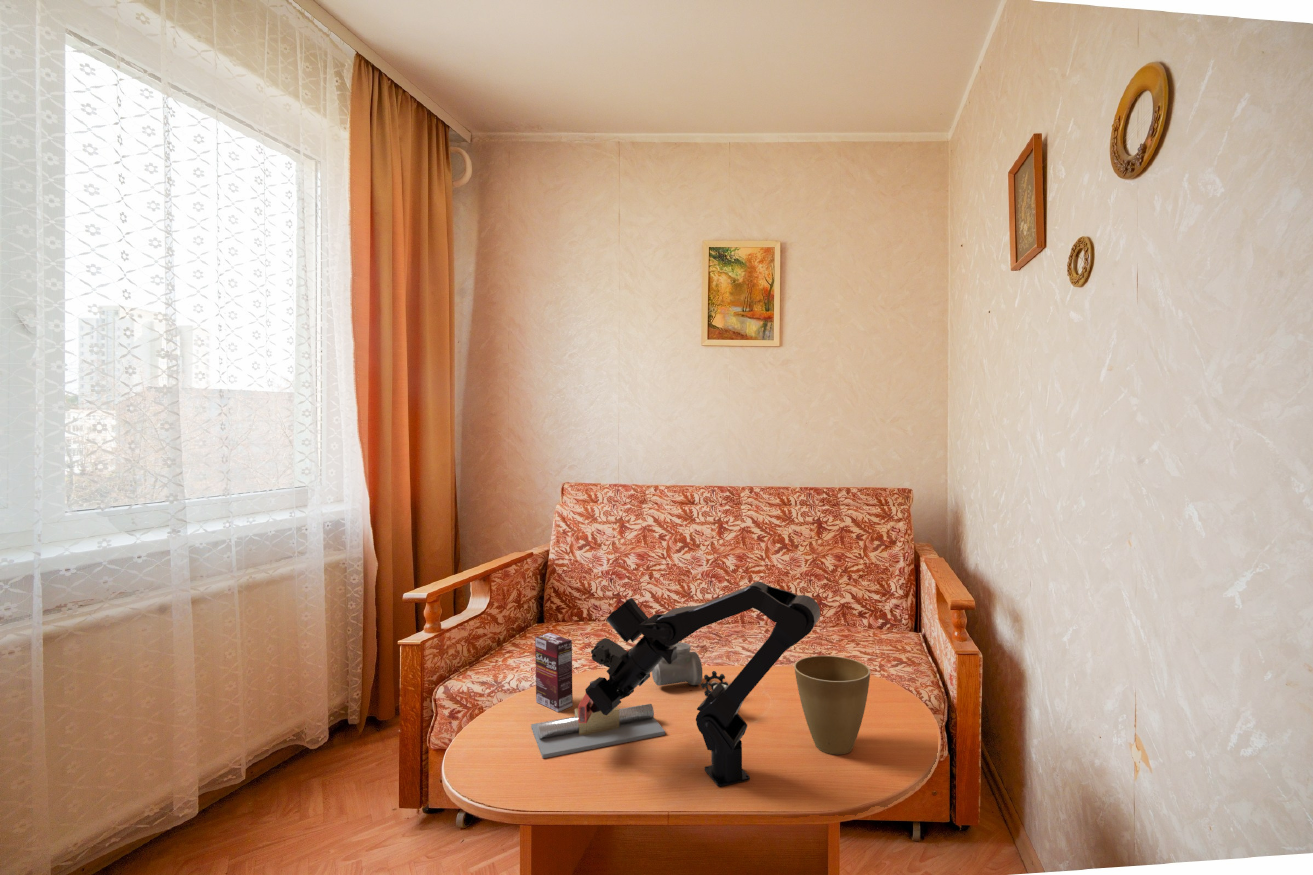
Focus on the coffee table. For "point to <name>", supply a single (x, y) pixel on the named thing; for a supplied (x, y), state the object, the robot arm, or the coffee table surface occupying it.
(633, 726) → the mounting board
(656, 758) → the coffee table surface
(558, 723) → the valve body
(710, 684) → the valve
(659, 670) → the pipe fitting
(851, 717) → the plant pot
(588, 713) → the valve lever
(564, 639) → the supplement box
